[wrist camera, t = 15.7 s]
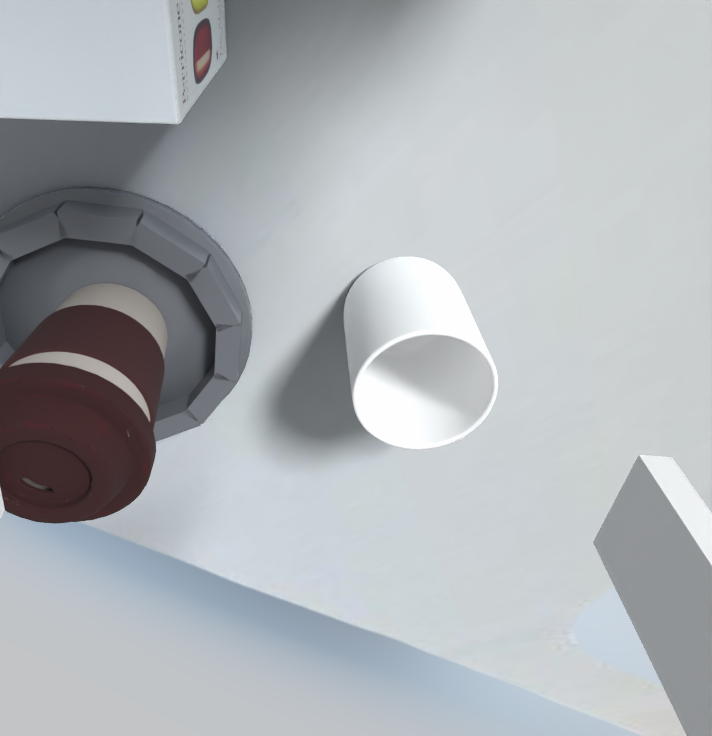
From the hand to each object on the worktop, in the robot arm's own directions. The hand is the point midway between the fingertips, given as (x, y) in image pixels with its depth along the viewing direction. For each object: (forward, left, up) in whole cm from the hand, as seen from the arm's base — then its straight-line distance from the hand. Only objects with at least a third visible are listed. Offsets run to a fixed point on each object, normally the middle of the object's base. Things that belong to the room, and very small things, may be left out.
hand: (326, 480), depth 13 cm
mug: (+13, +9, -31) cm, 35 cm away
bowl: (+15, -12, -31) cm, 36 cm away
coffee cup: (+15, -12, -30) cm, 35 cm away
